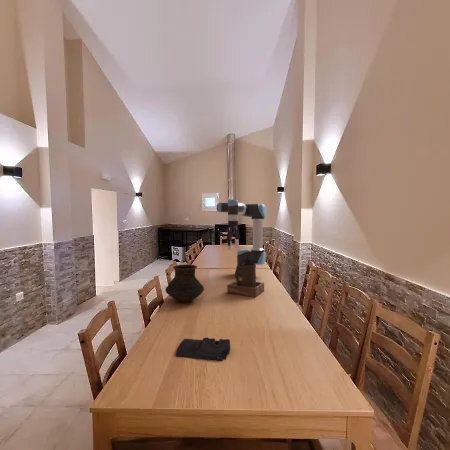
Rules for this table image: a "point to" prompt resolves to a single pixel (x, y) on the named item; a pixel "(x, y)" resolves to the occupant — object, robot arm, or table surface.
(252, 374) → the table surface
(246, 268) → the beer stein
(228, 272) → the table surface
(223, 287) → the table surface
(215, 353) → the dark grey flat piece
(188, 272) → the ceramic pot
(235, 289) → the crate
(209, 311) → the table surface
